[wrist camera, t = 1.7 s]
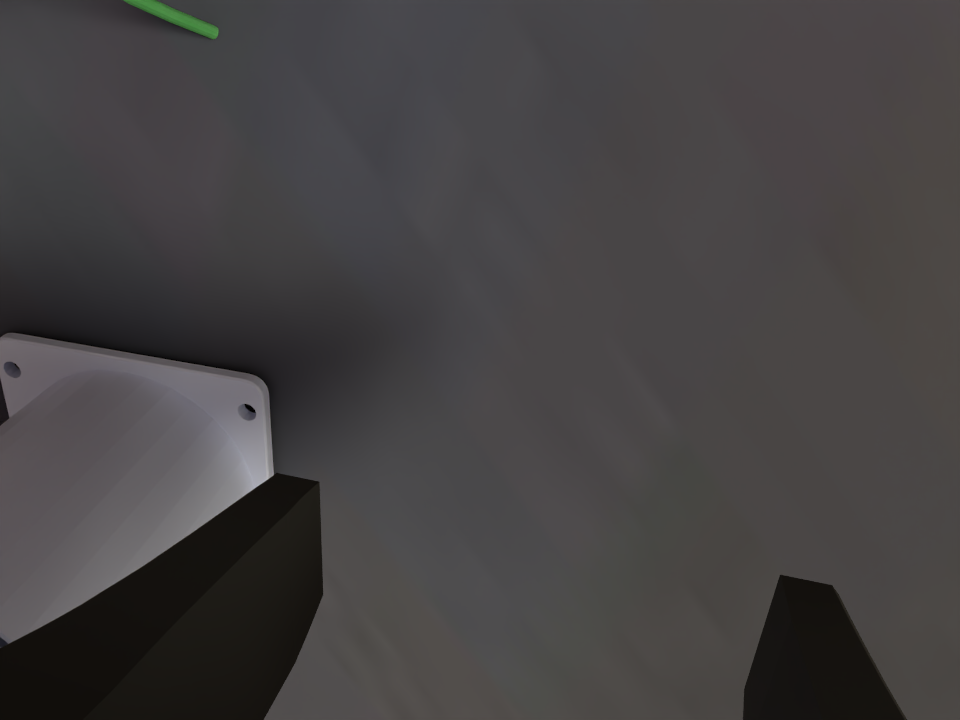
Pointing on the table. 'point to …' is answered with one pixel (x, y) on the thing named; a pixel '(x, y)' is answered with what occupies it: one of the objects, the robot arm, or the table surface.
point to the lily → (176, 17)
